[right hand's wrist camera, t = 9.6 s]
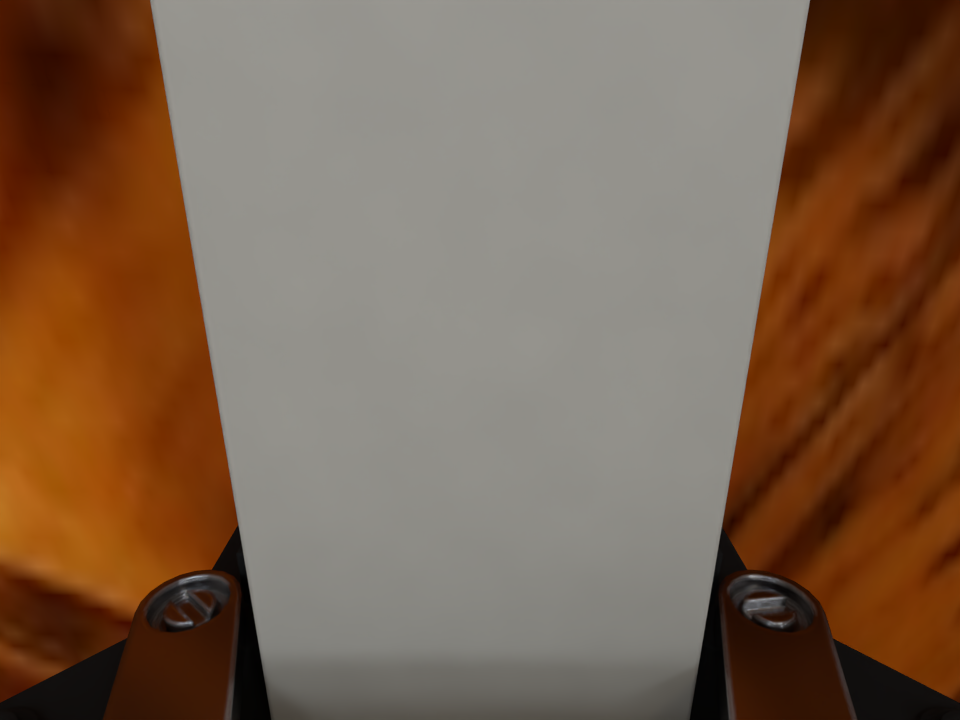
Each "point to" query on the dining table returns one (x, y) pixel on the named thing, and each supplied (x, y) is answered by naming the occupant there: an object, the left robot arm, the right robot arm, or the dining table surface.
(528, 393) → the bar
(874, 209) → the dining table surface
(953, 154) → the dining table surface
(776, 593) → the right robot arm
